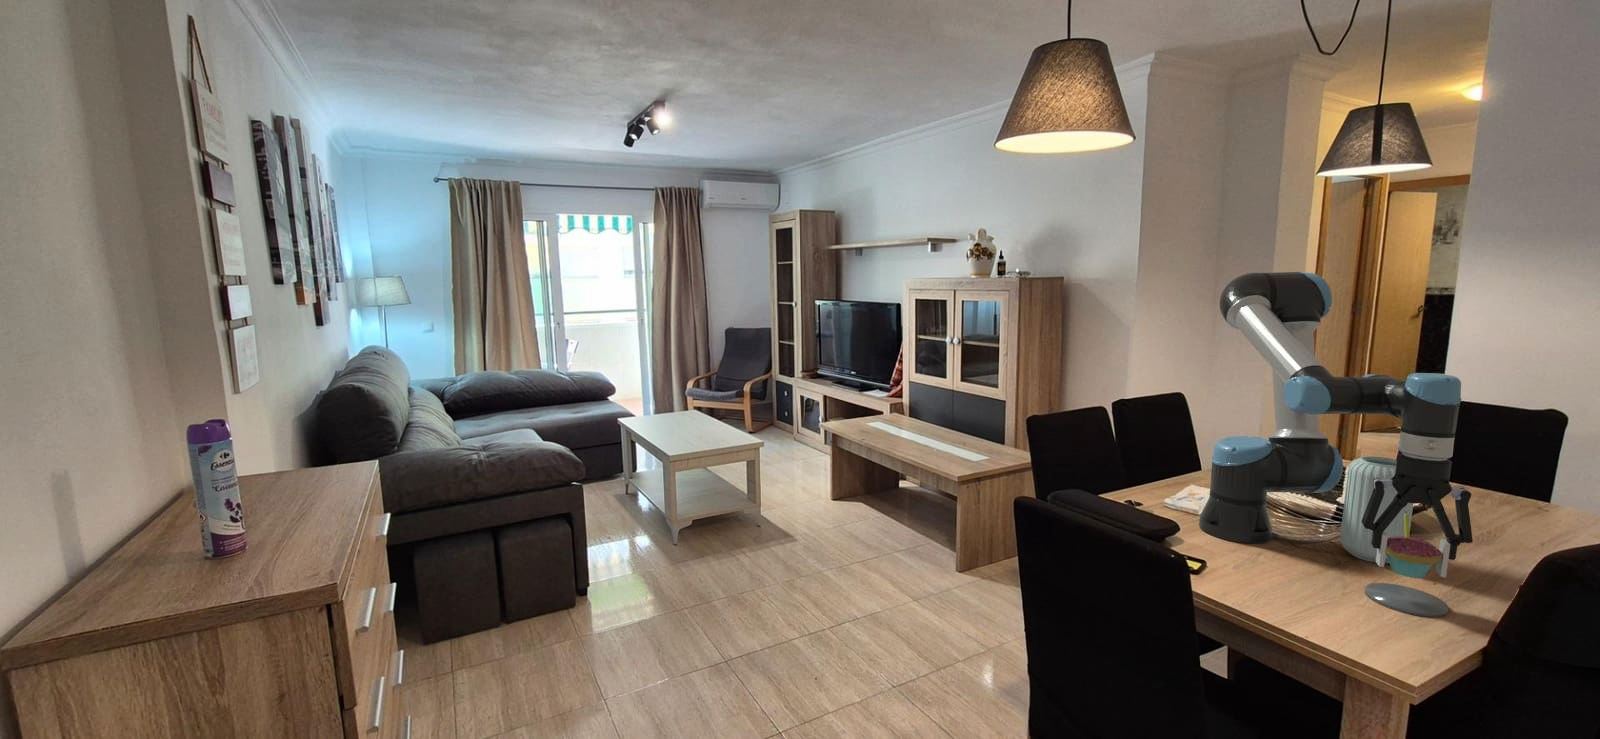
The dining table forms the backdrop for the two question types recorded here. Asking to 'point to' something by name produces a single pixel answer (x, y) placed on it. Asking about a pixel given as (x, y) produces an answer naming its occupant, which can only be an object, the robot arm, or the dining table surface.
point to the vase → (1357, 500)
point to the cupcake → (1411, 554)
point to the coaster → (1406, 599)
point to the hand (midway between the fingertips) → (1409, 569)
